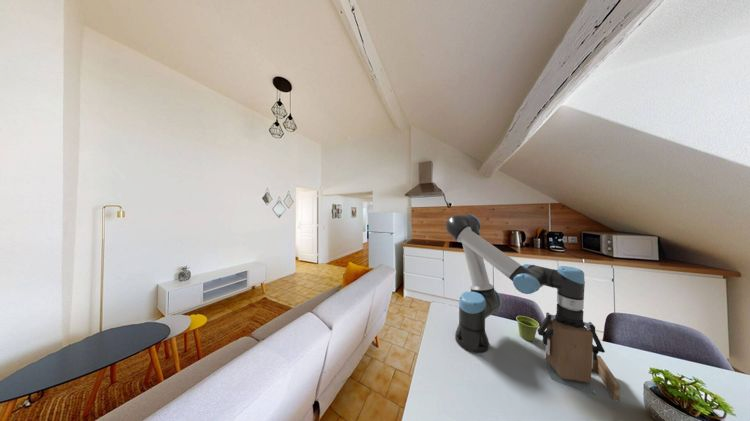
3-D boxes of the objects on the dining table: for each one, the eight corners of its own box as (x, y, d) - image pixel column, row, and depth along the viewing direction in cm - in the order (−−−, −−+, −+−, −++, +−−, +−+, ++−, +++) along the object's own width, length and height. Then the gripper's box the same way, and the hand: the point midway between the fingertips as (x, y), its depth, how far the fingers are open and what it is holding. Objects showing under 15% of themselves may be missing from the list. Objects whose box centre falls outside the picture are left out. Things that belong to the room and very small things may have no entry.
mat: (551, 379, 76) (551, 378, 76) (544, 358, 86) (544, 357, 86) (595, 394, 70) (595, 394, 70) (582, 370, 80) (582, 370, 80)
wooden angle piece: (554, 378, 77) (554, 363, 76) (545, 353, 90) (546, 340, 89) (619, 401, 68) (619, 385, 67) (599, 370, 80) (600, 356, 80)
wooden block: (561, 379, 75) (563, 329, 74) (544, 359, 85) (545, 314, 84) (592, 384, 73) (594, 332, 72) (571, 363, 82) (573, 317, 82)
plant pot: (539, 336, 101) (539, 320, 100) (538, 346, 94) (539, 329, 93) (516, 329, 107) (517, 313, 106) (514, 338, 100) (515, 321, 99)
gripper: (532, 302, 81) (531, 352, 81) (620, 320, 68) (617, 380, 68) (530, 295, 87) (528, 342, 88) (609, 310, 74) (607, 365, 75)
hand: (567, 359), depth 78 cm, fingers closed on wooden block, 12 cm apart
